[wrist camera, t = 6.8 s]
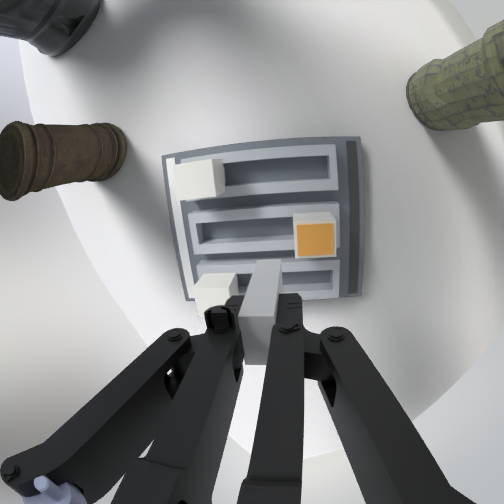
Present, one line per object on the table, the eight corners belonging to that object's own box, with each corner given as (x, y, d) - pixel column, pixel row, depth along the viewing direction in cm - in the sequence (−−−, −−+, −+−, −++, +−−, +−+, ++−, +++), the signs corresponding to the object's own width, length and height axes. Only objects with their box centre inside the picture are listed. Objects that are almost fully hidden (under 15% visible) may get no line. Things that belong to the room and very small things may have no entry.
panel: (168, 155, 33) (132, 156, 25) (356, 138, 29) (377, 131, 21) (190, 294, 39) (167, 327, 31) (358, 289, 35) (373, 324, 27)
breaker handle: (292, 209, 31) (293, 222, 25) (327, 207, 30) (336, 220, 24) (294, 239, 32) (295, 259, 26) (328, 237, 31) (336, 257, 25)
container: (137, 142, 33) (37, 143, 16) (108, 192, 36) (14, 221, 19) (101, 112, 32) (7, 105, 15) (75, 160, 35) (-14, 175, 18)
